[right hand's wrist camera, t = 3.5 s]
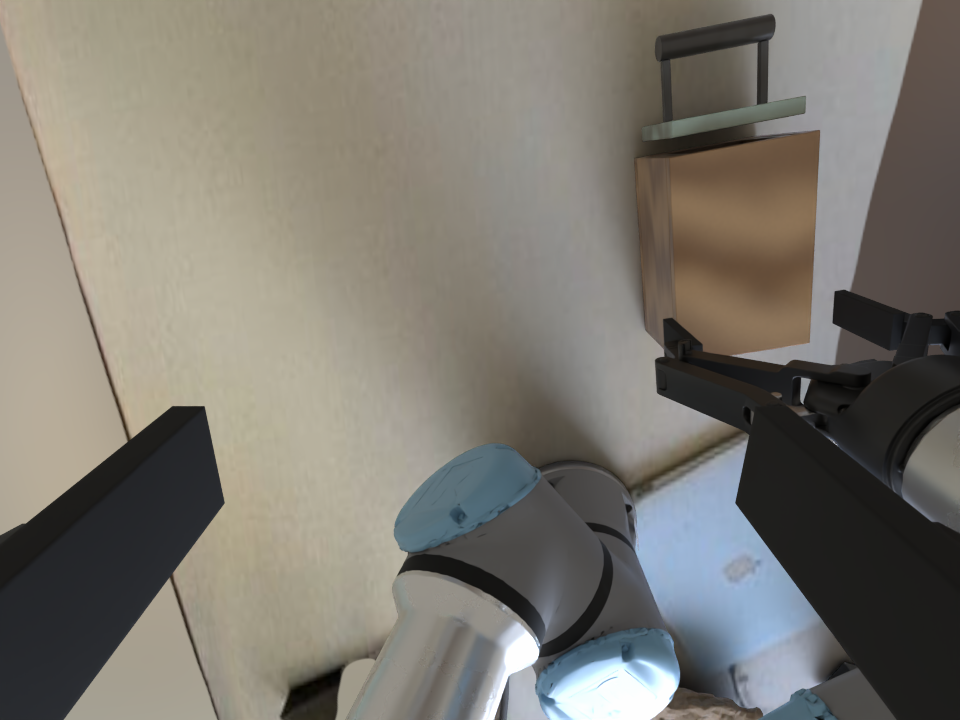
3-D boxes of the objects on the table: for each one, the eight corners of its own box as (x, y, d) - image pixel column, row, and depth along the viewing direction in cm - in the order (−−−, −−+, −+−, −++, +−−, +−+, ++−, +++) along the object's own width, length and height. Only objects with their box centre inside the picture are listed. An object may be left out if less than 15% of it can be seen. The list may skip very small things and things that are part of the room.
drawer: (636, 47, 44) (667, 24, 37) (755, 24, 44) (810, -4, 36) (651, 297, 52) (680, 320, 45) (752, 280, 51) (798, 300, 44)
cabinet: (634, 158, 48) (669, 157, 39) (756, 135, 48) (820, 129, 39) (645, 330, 54) (678, 364, 45) (754, 312, 53) (809, 343, 44)
